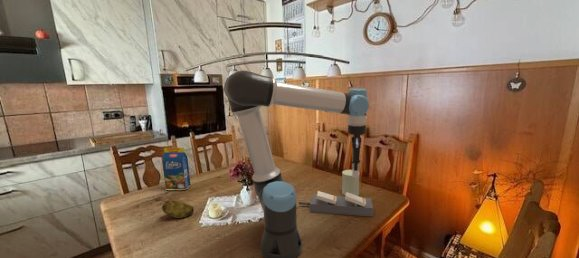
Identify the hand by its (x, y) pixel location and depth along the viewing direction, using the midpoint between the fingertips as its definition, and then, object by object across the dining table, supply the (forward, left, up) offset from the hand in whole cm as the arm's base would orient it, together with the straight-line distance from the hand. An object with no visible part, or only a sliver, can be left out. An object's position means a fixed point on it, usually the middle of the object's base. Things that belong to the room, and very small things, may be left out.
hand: (355, 176), depth 111 cm
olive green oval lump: (-71, +40, -17) cm, 83 cm away
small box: (0, 0, -11) cm, 11 cm away
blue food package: (-69, +75, -17) cm, 103 cm away
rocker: (-10, +8, -11) cm, 17 cm away
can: (+12, +17, -17) cm, 27 cm away
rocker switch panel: (-6, +8, -17) cm, 20 cm away
